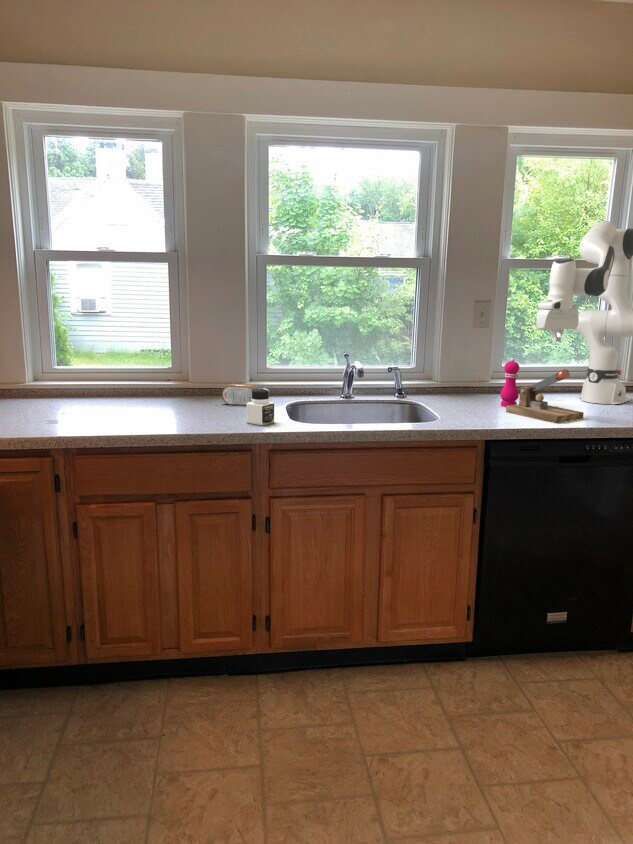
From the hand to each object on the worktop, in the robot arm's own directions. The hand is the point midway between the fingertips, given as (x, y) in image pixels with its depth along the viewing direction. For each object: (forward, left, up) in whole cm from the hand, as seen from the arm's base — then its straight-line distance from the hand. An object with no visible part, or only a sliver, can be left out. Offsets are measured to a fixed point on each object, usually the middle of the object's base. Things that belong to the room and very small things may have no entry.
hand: (556, 341), depth 235 cm
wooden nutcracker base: (0, -2, -29) cm, 29 cm away
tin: (+93, -76, -29) cm, 123 cm away
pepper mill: (-3, -22, -29) cm, 36 cm away
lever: (0, -3, -18) cm, 18 cm away
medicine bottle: (+101, -44, -29) cm, 114 cm away
